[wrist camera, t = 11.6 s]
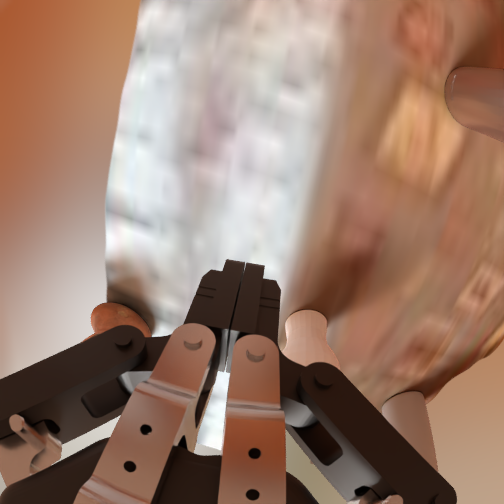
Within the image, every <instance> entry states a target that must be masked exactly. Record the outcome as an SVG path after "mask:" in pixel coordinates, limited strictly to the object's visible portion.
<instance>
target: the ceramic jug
mask: <svg viewBox="0 0 504 504" xmlns="http://www.w3.org/2000/svg"><path fill="white" fill-rule="evenodd" d="M91 324H92V327H93V330H94V332H95V333H94V334H92V335H91V336H89V337H88V338H86V339H85V340H88V339H90V338H92V337H94V336H96V335H98V334H101V333H103V332H105V331H107V330H109V329H111V328H113V327H116V326H119V325H131V326H134V327H136V328H138V329H140V330H141V331H142V333H143V334H144V336H145V337H152V336H151V332H150V330H149V327H148V325H147V324H146V322H145V321H144V320H143V319H142V318H141V317H140V316H139V315H138V314H137V313H136V312H134V311H133V310H131V309H130V308H128V307H126V306H124V305H121V304H118V303H112V302H107V303H102V304H100V305H98V306H97V307H95V308H94V310H93V312H92V314H91ZM85 340H84V341H85Z"/></svg>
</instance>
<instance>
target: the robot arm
mask: <svg viewBox="0 0 504 504" xmlns="http://www.w3.org/2000/svg"><path fill="white" fill-rule="evenodd" d="M445 99H446V103H447V106H448V109H449V111H450V113H451V114H452V116H453V117H454V118H455V120H456V121H457V122H459V123H460V124H461V125H463V126H465V127H467V128H470V129H473V130H475V131H478V132H480V133H482V134H485V135H487V136H490V137H492V138H494V139H497V140H499V141H501V142H503V143H504V69H498V68H483V67H459V68H457V69H455V70H453V71H452V72H451V73H450V75H449V76H448V78H447V81H446V85H445ZM264 267H265V266H264V265H258V264H252V263H246V266H245V262H240V261H234V260H228V259H227V260H226V262H225V265H224V268H223V271H217V270H210V271H209V272H208V273H206V274H205V275H204V276H203V277H202V279H201V282H200V284H199V288H198V289H197V292H196V295H195V297H194V299H193V302H192V304H191V306H190V309H189V312H188V314H187V317H186V319H185V322H184V324H183V325H181V326H179V327H178V328H176V329H175V330H174V331H173V333H172V334H171V335H168V336H163V337H145V336H144V334H143V333H142V331H141V330H140V329H138V328H136V327H134V326H131V325H119V326H116V327H113V328H111V329H109V330H107V331H105V332H103V333H101V334H98V335H96V336H94V337H92V338H90V339H88V340H85V341H83V342H81V343H79V344H77V345H75V346H73V347H70V348H68V349H66V350H64V351H62V352H60V353H57V354H55V355H53V356H51V357H49V358H47V359H44V360H42V361H40V362H38V363H35V364H33V365H31V366H29V367H27V368H24V369H22V370H20V371H18V372H16V373H13V374H11V375H9V376H7V377H5V378H3V379H0V472H1V474H2V477H3V479H4V482H5V484H6V486H7V488H6V489H5V490H4V491H3V492H2V494H1V496H0V504H319V503H318V502H317V501H316V500H315V498H314V497H313V496H312V494H311V493H310V492H309V491H308V489H307V488H306V487H305V486H304V485H303V484H302V483H301V482H300V481H299V480H298V479H297V478H295V477H294V476H293V475H291V474H290V473H288V472H286V438H285V436H286V435H285V429H286V430H287V431H288V432H289V434H290V435H291V436H292V437H293V439H294V440H295V441H296V443H297V444H298V445H299V446H300V448H301V449H302V450H303V451H304V453H305V454H306V455H307V456H308V457H309V459H310V460H311V461H312V462H313V463H314V465H315V466H316V467H317V468H318V469H319V471H320V472H321V473H322V474H323V475H324V477H326V479H327V480H328V481H329V482H330V483H331V484H332V486H333V487H334V488H335V489H336V490H337V491H338V492H339V494H340V495H341V496H342V497H343V498H344V499H345V500H346V501H347V504H456V503H457V496H456V492H455V490H454V488H453V487H452V486H451V485H450V484H449V483H448V482H447V481H446V480H445V479H444V478H443V477H442V476H441V475H440V474H439V473H438V472H437V471H436V470H435V469H434V468H433V467H432V466H431V465H430V464H429V463H428V462H427V461H426V460H425V459H424V458H423V457H422V456H421V455H420V454H419V453H418V452H417V451H416V450H415V449H414V447H413V446H412V445H411V444H410V443H409V442H408V441H407V440H406V439H405V438H404V437H403V436H402V435H401V434H400V433H399V432H398V431H397V430H396V429H395V428H394V427H393V426H392V425H391V424H390V423H389V422H388V421H387V420H386V419H385V417H384V416H383V415H382V414H381V413H380V412H379V411H378V410H377V409H376V408H375V407H374V406H373V405H372V404H371V403H370V402H369V401H368V400H367V399H366V398H365V397H364V395H363V394H362V393H361V392H360V391H359V390H358V389H357V388H356V387H355V386H354V385H353V384H352V383H351V382H350V381H349V380H348V379H347V377H346V376H345V375H344V374H343V373H342V372H341V371H340V370H339V369H338V368H337V367H335V366H333V365H331V364H329V363H325V362H315V363H311V364H309V365H308V366H303V365H301V364H298V363H296V362H294V361H292V360H290V359H288V358H287V357H286V356H285V355H284V354H283V353H282V352H281V350H280V349H279V346H278V326H279V311H280V310H279V309H280V296H281V289H280V288H279V286H278V284H277V282H276V281H275V280H269V279H263V275H264ZM244 268H245V271H244ZM227 357H228V359H227ZM226 361H227V368H226V372H228V373H230V378H229V386H228V393H227V402H226V411H225V421H224V430H223V440H222V448H221V455H212V456H201V455H197V454H194V450H195V445H196V442H197V436H198V432H199V429H200V426H201V423H202V420H203V417H204V414H205V411H206V408H207V405H208V402H209V399H210V396H211V393H212V390H213V386H214V384H215V380H216V376H217V372H218V371H222V372H224V370H225V366H226ZM119 415H121V417H120V418H119V420H118V422H117V424H116V427H115V428H114V431H113V433H112V435H111V437H109V438H105V439H102V440H99V441H97V442H95V443H93V444H91V445H90V446H88V447H86V448H84V449H82V450H80V451H78V452H77V453H75V454H73V455H71V456H69V457H67V458H65V459H63V460H61V461H59V462H57V463H55V462H56V461H58V460H59V459H60V458H61V452H62V444H64V443H67V442H69V441H71V440H73V439H75V438H77V437H79V436H81V435H83V434H85V433H87V432H89V431H91V430H93V429H95V428H97V427H99V426H101V425H103V424H105V423H107V422H108V421H110V420H112V419H114V418H116V417H118V416H119ZM53 463H55V464H54V465H52V464H53Z"/></svg>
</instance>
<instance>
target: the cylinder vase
mask: <svg viewBox="0 0 504 504" xmlns="http://www.w3.org/2000/svg"><path fill="white" fill-rule="evenodd" d="M382 412H383V416H384V417H385V419H386V420H387V421H388V422H389V423H390V424H391V425H392V426H393V427H394V428H395V429H396V430H397V431H398V432H399V433H400V434H401V435H402V436H403V437H404V438H405V439H406V440H407V441H408V442H409V443H410V444H411V445H412V446H413V447H414V449H415V450H416V451H417V452H418V453H419V454H420V455H421V456H422V457H423V458H424V459H425V460H426V461H427V462H428V463H429V464H430V465H431V466H432V467H433V468H434V469H435V470H436V471H437V472H438V466H437V460H436V454H435V448H434V443H433V437H432V432H431V427H430V423H429V417H428V413H427V408H426V404H425V400H424V396H423V394H422V393H420V392H417V391H410V392H405V393H401V394H398V395H396V396H394V397H392V398H390V399H389V400H388V401H386V402H385V403H384V405H383V407H382Z"/></svg>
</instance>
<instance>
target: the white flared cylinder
mask: <svg viewBox="0 0 504 504" xmlns="http://www.w3.org/2000/svg"><path fill="white" fill-rule="evenodd" d="M285 328H286V335H287V343H286V347H285V348H284V350H283V351H282V353H283V354H284V355H285V356H286V357H287V358H288V359H290V360H292V361H294V362H296V363H298V364H301V365H303V366H308V365H309V364H311V363H315V362H325V363H329V364H331V365H333V366H335V367H337V368H338V369H339V370H340V366H339V362H338V360H337V358H336V356H335V354H334V352H333V351H332V349H331V348H330V347H329V346H328V345H327V341H326V332H327V320H326V318H325V317H324V316H323V315H322V314H321V313H319V312H317V311H313V310H302V311H298V312H295V313H293V314H292V315H290V316H289V317H288V319H287V320H286V323H285Z"/></svg>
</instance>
